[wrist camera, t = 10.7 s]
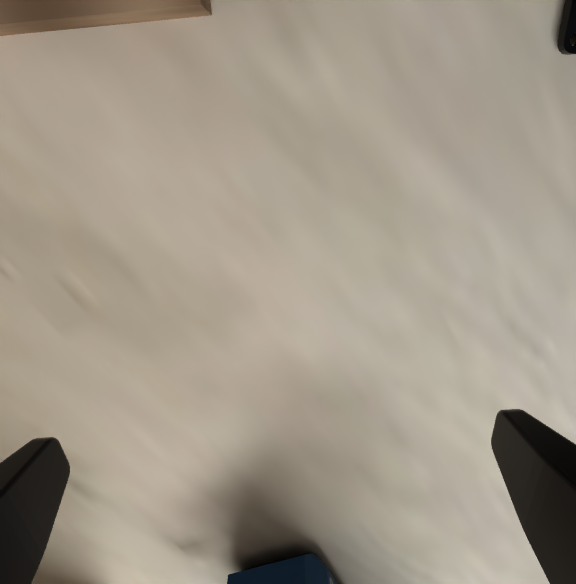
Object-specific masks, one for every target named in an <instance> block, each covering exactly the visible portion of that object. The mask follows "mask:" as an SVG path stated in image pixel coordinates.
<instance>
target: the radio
mask: <svg viewBox="0 0 576 584" xmlns="http://www.w3.org/2000/svg"><path fill="white" fill-rule="evenodd" d="M227 584H337V583H336V581H335V580H334V578H333V577H332V575H331V574H330V572H329V571H328V569H327V568H326V567H325V565H324V564H323V563H322V562H321V560H320V559H319V558H318V557H317V555H316V554H315V553H311V554H307V555H302V556H298V557H295V558H291V559H287V560H283V561H279V562H275V563H271V564H268V565H264V566H260V567H256V568H252V569H248V570H244V571H241V572H237V573H233V574H229V575H228V581H227Z"/></svg>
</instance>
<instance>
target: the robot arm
mask: <svg viewBox="0 0 576 584" xmlns="http://www.w3.org/2000/svg"><path fill="white" fill-rule="evenodd" d="M574 33H575V34H576V0H566V3H565V8H564V13H563V18H562V23H561V28H560V33H559V38H558V49H559V51H560V52H561V53H562V54H566V55H569V54H576V43H575V44H574V45H573V46H572V45H571V44H570V39H571V37H572V35H573V34H574ZM491 445H492V450H493V453H494V455H495V458H496V461H497V463H498V466H499V468H500V471H501V474H502V476H503V479H504V482H505V484H506V487H507V489H508V492H509V495H510V497H511V500H512V503H513V505H514V508H515V510H516V513H517V516H518V518H519V520H520V523H521V525H522V528H523V530H524V532H525V534H526V536H527V538H528V540H529V543H530V545H531V547H532V549H533V551H534V553H535V555H536V557H537V559H538V561H539V563H540V565H541V567H542V569H543V571H544V573H545V575H546V577H547V579H548V581H549V583H550V584H576V444H574V443H573V442H571V441H570V440H568V439H567V438H565V437H563V436H562V435H560V434H559V433H557V432H556V431H554V430H553V429H551V428H550V427H548V426H546V425H545V424H543V423H542V422H540V421H539V420H537V419H536V418H534V417H533V416H531V415H529V414H528V413H526V412H525V411H523V410H520V409H510V410H501V411H499V412H498V413H497V416H496V420H495V425H494V429H493V434H492V438H491ZM69 474H70V465H69V462H68V460H67V458H66V455H65V453H64V451H63V449H62V447H61V445H60V443H59V441H58V440H57V439H56V438H53V437H48V438H36V439H33V440H31V441H30V442H28V443H27V444H26V445H24V446H23V447H22V448H20V449H19V450H18V451H16V452H15V453H13V454H12V455H11V456H9V457H8V458H7V459H5V460H4V461H2V462H1V463H0V584H31V583H32V580H33V578H34V576H35V573H36V571H37V569H38V566H39V564H40V561H41V559H42V556H43V554H44V551H45V548H46V546H47V543H48V540H49V537H50V534H51V531H52V528H53V524H54V521H55V518H56V515H57V512H58V509H59V506H60V503H61V500H62V497H63V494H64V490H65V487H66V484H67V481H68V478H69Z"/></svg>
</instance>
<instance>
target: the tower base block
mask: <svg viewBox="0 0 576 584" xmlns="http://www.w3.org/2000/svg"><path fill="white" fill-rule="evenodd" d="M209 15H212V12H211V5H210V0H0V36H4V35H14V34H25V33H35V32H45V31H55V30H66V29H76V28H86V27H96V26H107V25H117V24H127V23H137V22H148V21H158V20H168V19H178V18H189V17H199V16H209Z"/></svg>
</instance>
